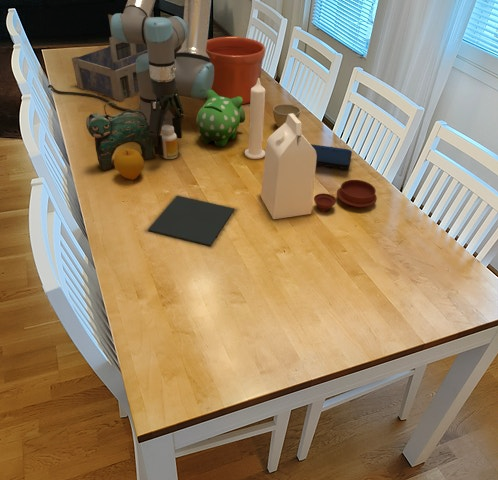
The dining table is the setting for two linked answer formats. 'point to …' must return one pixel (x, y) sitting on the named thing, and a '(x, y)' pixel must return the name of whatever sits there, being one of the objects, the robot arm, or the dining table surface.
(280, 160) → the milk
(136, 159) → the apple
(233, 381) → the dining table surface
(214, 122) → the piggy bank
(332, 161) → the game console
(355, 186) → the pottery
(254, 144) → the candle
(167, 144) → the supplement bottle
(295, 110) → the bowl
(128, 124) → the ceramic cat
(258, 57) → the pot
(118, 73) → the building
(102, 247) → the dining table surface
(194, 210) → the mat
